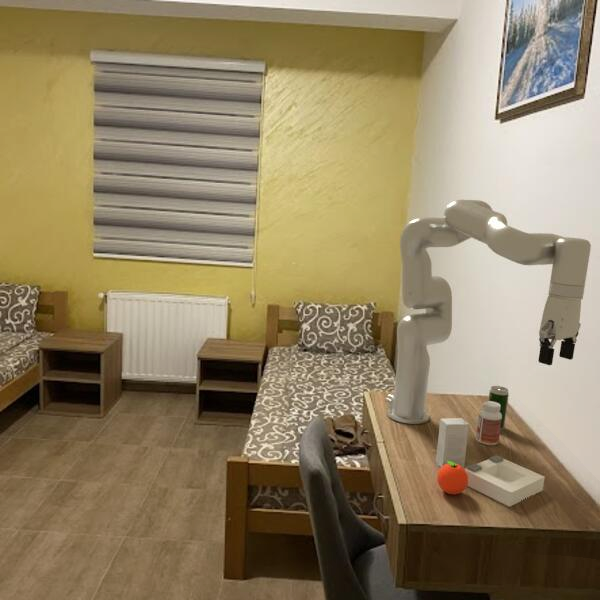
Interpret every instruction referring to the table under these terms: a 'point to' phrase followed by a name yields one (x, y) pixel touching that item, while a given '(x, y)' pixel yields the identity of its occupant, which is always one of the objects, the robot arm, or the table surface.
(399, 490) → the table surface
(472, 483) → the socket plate
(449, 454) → the skincare box
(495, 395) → the beer can
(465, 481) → the clementine
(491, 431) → the pill bottle
